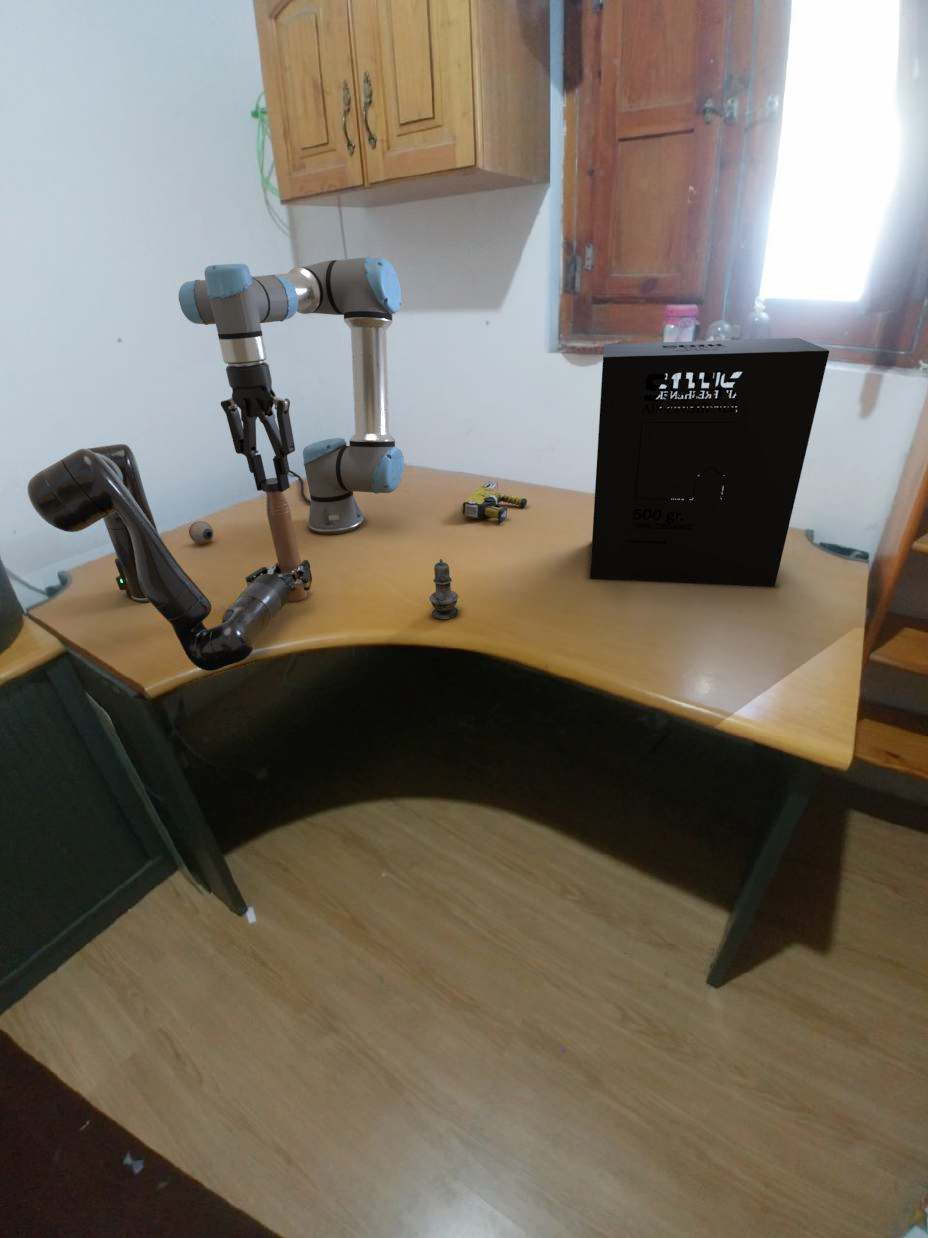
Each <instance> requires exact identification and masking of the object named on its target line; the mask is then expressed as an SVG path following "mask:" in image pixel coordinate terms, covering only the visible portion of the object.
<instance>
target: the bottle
mask: <svg viewBox="0 0 928 1238" xmlns="http://www.w3.org/2000/svg"><path fill="white" fill-rule="evenodd" d="M265 495H266V497H265V500H266V501H265V503H266V504H265V507H266V508H265V509H266V510H265V511H266V515H267V516H266V517H267V521H268V524H269V529H270V534H271V538H272V542H273V546H274V551H275V555H276V560H277V562H278V565H279V569H280V574H281V573H285V572H287V571H288V570H290V569H296V568H297V567H298V566H299V565H300V564H301V563H302V561H301V556H300V553H299V547H298V541H297V537H296V533H295V532H296V531H295V528H294V523H293V518H292V514H291V513H292V512H291V508H290V505H289V504H288V501H287V498H286V495H285V494H284V491H283V492H280V491H276V492H265ZM298 576H299V573H298ZM307 597H308V591H305V590H304V588H296V590H295V591H293V592H291V593H290V596H289V599H288V601H287V602H299V601H303V600H305V599H306V598H307Z"/></svg>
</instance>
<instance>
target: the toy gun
mask: <svg viewBox="0 0 928 1238" xmlns="http://www.w3.org/2000/svg"><path fill="white" fill-rule="evenodd" d="M498 486H499V483H498V482H497V481H493V482H492V481H491V480H489V481H488V482H487V483H485V484H483V485H482V486H481V487H479V488H478V489H477V490H476V491H474V493H472V495H470V496H469V497H468V498H467V499H466V500H465V501H464V502H462V506H461V508H462V509H461V514H462V516H463V517H466V518H467V519H471V520H472V519H474V518H475V519H482V518H486V517H489V518H494V519H498V521H497V522H498V523H499V522H502V521H504V520H506V519H507V516H508V506H503V507H501V505H499V504H500V503H505V504H506V503H507V504H511V505H515V506H519V507H521V508H525V507H526V506H527V503H528V499H526V497H525V498H524V497H520V496H514V495H511V494H510V495H509V494H506V493H505V494H503V495H502V496H501V493H500V492H499V491H498V489H499V487H498Z"/></svg>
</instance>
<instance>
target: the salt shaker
mask: <svg viewBox="0 0 928 1238" xmlns="http://www.w3.org/2000/svg"><path fill="white" fill-rule="evenodd" d="M438 561H439V562H437V563H435V564H434V568H433V570H434V578H433V580H432V581H433V583H434V587H435V591H434V592H432V593H431V594H430V595H429V597H428V600H429V601H430V603H431V605H432V607H433V608H434V609H433V610H432V611H431V615H432V616H433V618H436V619H439V620H448V619H452V618H454V617H456V616H457V615H458V614H459V610H458V608H457V607H456V605H457V603H458V600H459V594H458V592H456V591H453V590H452V587H451V586H452V585H451V582H452V577H450V566H449V563H447V562H444V560H443V559H442V558H440V559H439V560H438Z"/></svg>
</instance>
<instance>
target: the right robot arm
mask: <svg viewBox="0 0 928 1238" xmlns="http://www.w3.org/2000/svg"><path fill="white" fill-rule="evenodd" d="M204 278H205V279H194V280H191V281H190V280H189V281H186V282H184V283H183V284H181V286H180V287H179V290H178V302H179V306H180V310H181V312H182V314H183V315H184V316H185V318H186V319H187V320H188V321H189V322H191V323H193V324H195V325H205V326H209V325H215V327H216V331H217V337H218V343H219V346H220V350H221V351H220V352H221V356H222V361H223V363H224V364H227V366H226V367H225V372H226V376H227V377H226V378H227V381H228V385H229V387H230V388H231V389H232V392H231V397H230V398H228V399H225V400H222V401H221V402H220V406H221V408H222V410H223V411H224V414H225V416H226V419H227V420H226V421H227V424H228V427H229V428H228V429H229V431H230V436H231V439H232V444H233V447H234V451H235V453H236V454H238V455H243V456H245V457H246V461H247V465H248V470H249V472H250V474H252V475H253V478H254V482H255V487H256V491H258V492H261V491H262V488H261V481H263V480H265V479H267V475H266V472H265V466H264V463H263V457H262V454H260V453H259V450H258V449H257V419H259V422H260V423H261V424H262V426H263V428H264V430H265V432H266V435H267V437H268V440H269V443H270V445H271V447H272V451H273V452H274V456H273V457H272V463H273V468H274V472H275V478H277V482H278V486H279V491H280V492H283V493H284V492H285V491H287V490H288V489H290V488H291V487H290V485H291V484H290V481H289V476H288V474H289V473H290V474H291V475H293V476H295V477H296V478H297V479H298V480H299V482H300V494H301V496H302V498H303V500H304V501H305V502H306V503H308V504H310V507H309V513H308V523H307V524H308V528H309V529H308V530H310V531H311V532H312V533H314V534H317V535H323V536H324V535H325V536H327V535H329V536H331V535H339V534H340V535H341V534H345V533H350V532H353V531H355V530H357V529H359V528H361V527H362V526H363V525H364V523H365V519H364V514H363V512H362V510H361V508H360V505H359V504H358V501H357V500H356V498H355V495H354V492H359V493H374V494H375V495H377V494H390V493H392V492H394V491H396V489H397V488H398V487H399V485H400V483H401V481H402V479H403V476H404V470H405V456H404V455H403V450H402V449H401V448H399V447H398V446H396V440H395V438H394V437H393V436H392V435H391V434H390V423H389V386H388V385H389V384H388V382H389V381H388V343H387V341H388V340H387V330H388V329H389V328H390V327H391V326H392V324H393V315H394V314H397V313H398V312H399V311H400V309H401V305H402V289H401V284H400V281H399V277H398V274H397V273H396V270H395V268H394V267H393V265H392V264H391V263H390V261H388V260H387V258H386V259H385V258H384V257H371V256H366V257H357V258H347V259H346V258H345V259H331V260H325V261H321V262H317V263H313V264H309V265H305V266H302V267H301V266H300V267H294V268H292V269H290V270H288V272H287V273H275V274H263V275H252V274H251V271H250V268H249V266H248V265H247V264H245V263H224V264H211V265H207V266H206V267H205V268H204ZM296 313H299V314H302V315H308V314H322V315H331V316H332V315H333V316H334V315H335V316H343V322H344V323H345V325H347V326H348V328H349V330H350V345H351V348H350V349H351V369H352V371H351V372H352V393H353V394H352V395H353V416H354V419H353V420H354V433H353V435H352V436H350V438H349V445H347V441H346V439H345V438H342V437H334V438H328V439H323V440H320V441H319V440H318V441H316V442H313V443H309V444H308V445H306V446H305V447H304V448H303V450H302V457H303V458H302V460H303V467H304V471H305V477H306V481H307V486H308V492H309V498H310V499H309V498H307V496H306V494H305V491H304V490H305V488H304V480H303V479H302V477H301V476H300V474H297V473H296V472H294V471H292V470H291V469H290V464H289V458H288V455H290V454H292V453H294V452H295V451H296V445H295V440H294V439H295V438H294V436H293V435H294V433H293V428H292V423H291V417H290V406H291V400H290V399H289V398H284V399H283V398H281V397H278V396H277V395H276V393H275V391H274V390H273V386H272V383H273V379H272V375H271V371H270V365H269V364H268V362H265V361H267V358H268V356H267V351H266V346H265V340H264V335H263V330H262V325H261V324H265V323H273V322H284V321H287V320H289V319H291V318H293V317H294V316H295V315H296ZM273 407H274V410H275V411H276V415H275V412H274V410H273ZM239 409H240V411H239ZM276 421H277V422H276ZM258 453H259V454H258Z"/></svg>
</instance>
